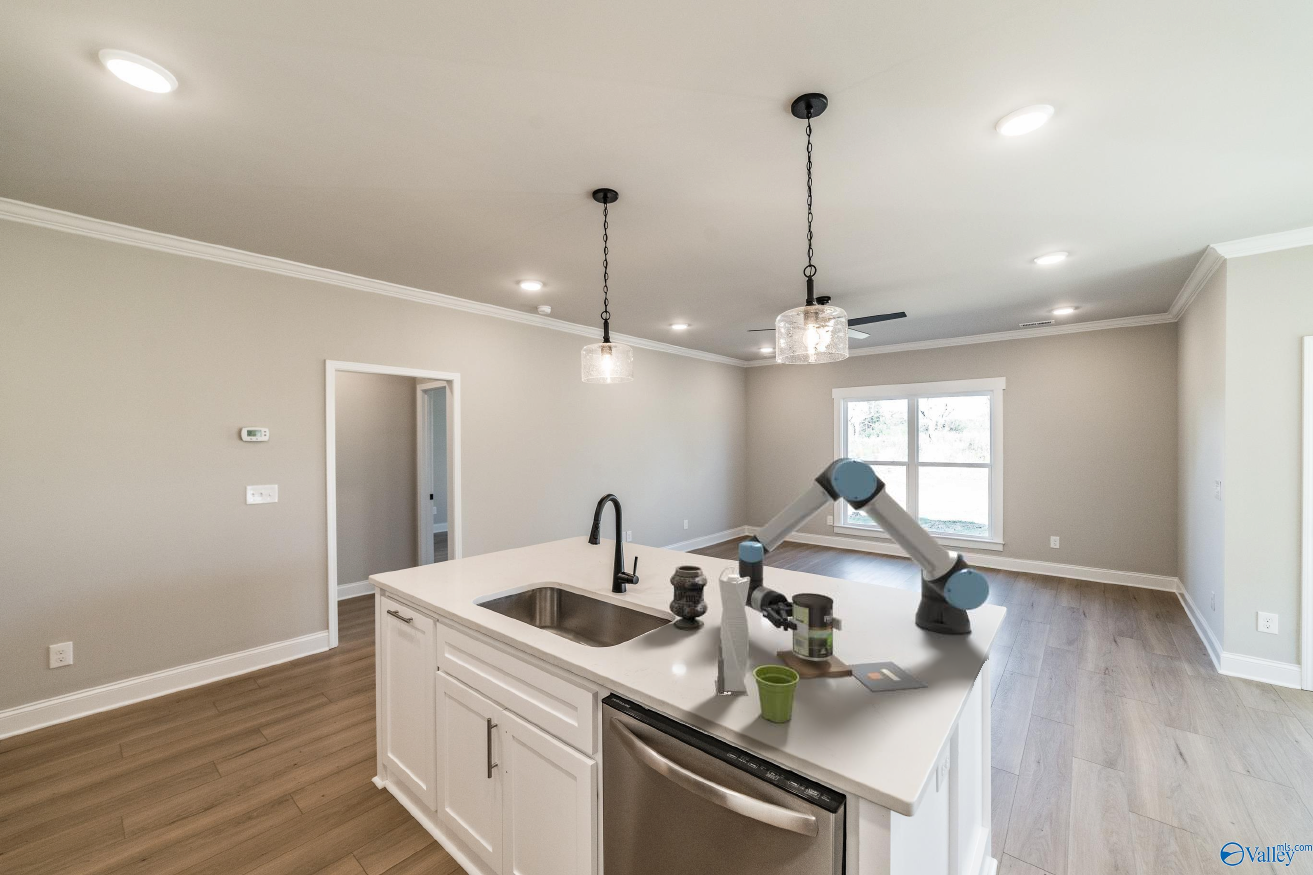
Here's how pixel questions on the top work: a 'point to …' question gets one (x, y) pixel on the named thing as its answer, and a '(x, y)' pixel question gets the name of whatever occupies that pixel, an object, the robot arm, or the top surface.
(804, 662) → the walnut board
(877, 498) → the robot arm
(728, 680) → the skyscraper
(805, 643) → the coffee can
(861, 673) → the gray tile
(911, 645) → the top surface
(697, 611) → the apothecary jar
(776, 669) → the plant pot
